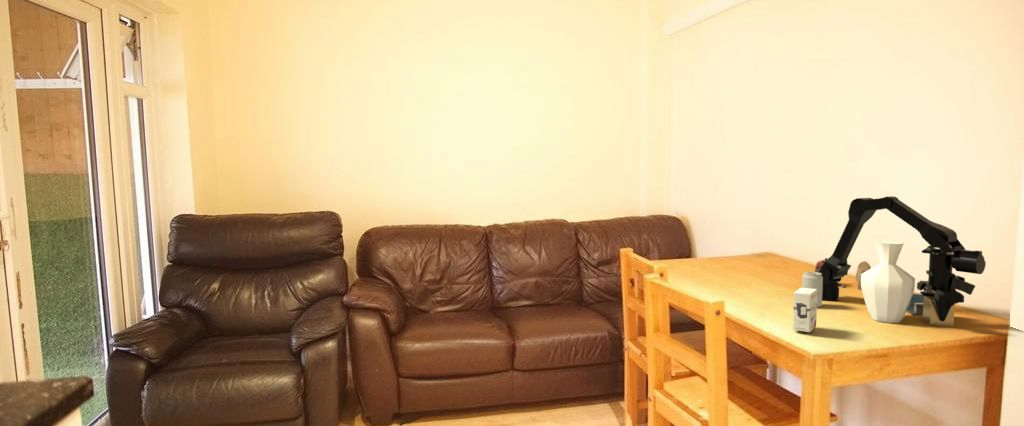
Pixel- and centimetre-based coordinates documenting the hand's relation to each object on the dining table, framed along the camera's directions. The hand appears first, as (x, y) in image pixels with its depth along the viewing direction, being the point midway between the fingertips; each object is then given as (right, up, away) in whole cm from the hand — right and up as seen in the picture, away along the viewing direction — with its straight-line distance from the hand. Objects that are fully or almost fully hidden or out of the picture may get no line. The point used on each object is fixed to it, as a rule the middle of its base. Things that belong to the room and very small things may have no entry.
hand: (937, 318), depth 171 cm
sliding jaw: (+6, +1, +23) cm, 24 cm away
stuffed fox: (-4, +2, +51) cm, 51 cm away
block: (0, -2, 0) cm, 2 cm away
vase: (-13, -2, +5) cm, 14 cm away
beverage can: (-27, 0, +23) cm, 35 cm away
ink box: (-43, -3, -3) cm, 44 cm away
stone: (+9, +2, +51) cm, 52 cm away
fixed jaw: (+5, -1, +9) cm, 10 cm away
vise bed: (+7, 0, +15) cm, 17 cm away
